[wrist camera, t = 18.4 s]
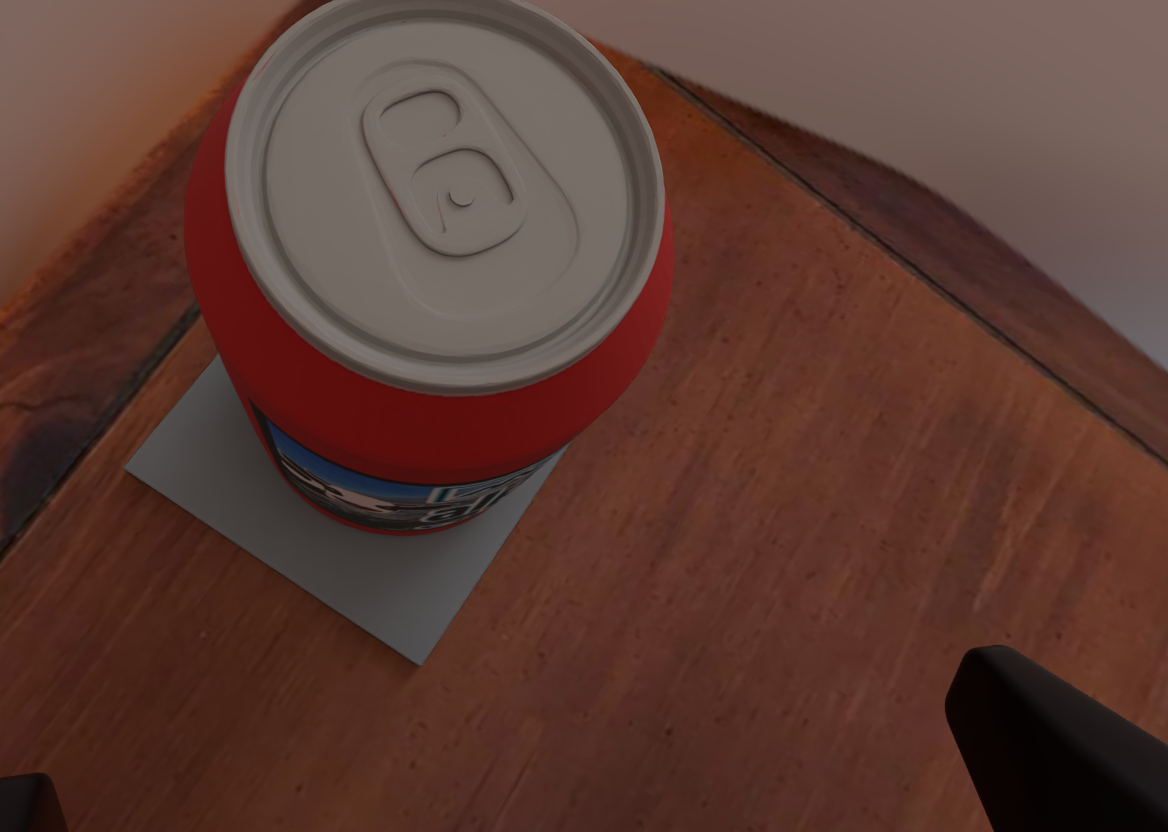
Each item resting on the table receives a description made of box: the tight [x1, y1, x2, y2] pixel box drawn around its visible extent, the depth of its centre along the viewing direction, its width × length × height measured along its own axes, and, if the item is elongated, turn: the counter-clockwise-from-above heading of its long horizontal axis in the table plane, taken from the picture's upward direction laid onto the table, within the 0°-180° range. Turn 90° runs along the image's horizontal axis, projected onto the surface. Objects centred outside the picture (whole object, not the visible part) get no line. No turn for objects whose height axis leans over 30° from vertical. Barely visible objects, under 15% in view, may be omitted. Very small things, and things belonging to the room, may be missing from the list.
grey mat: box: [123, 353, 571, 667], centre depth 23 cm, size 10×8×1 cm
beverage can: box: [184, 0, 674, 536], centre depth 17 cm, size 7×7×12 cm
